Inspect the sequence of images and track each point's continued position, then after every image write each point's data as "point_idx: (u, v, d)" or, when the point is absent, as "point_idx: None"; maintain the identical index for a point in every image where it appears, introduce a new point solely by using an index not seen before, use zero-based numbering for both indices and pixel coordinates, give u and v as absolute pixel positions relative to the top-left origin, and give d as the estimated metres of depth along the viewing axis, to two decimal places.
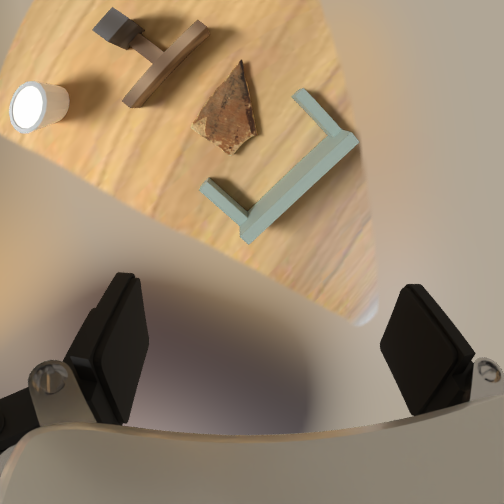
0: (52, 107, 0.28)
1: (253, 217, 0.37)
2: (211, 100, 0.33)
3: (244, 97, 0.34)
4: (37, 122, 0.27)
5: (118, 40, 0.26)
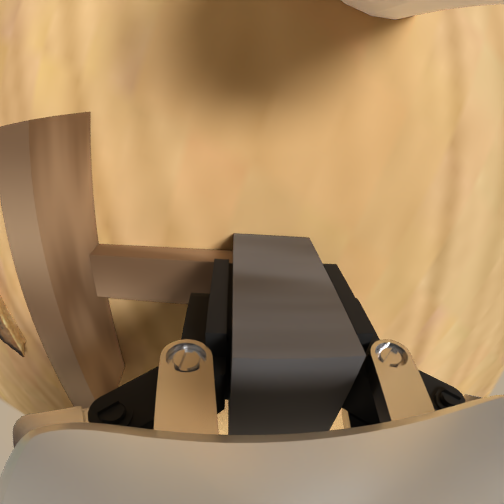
0: None
1: None
2: None
3: None
4: None
5: None
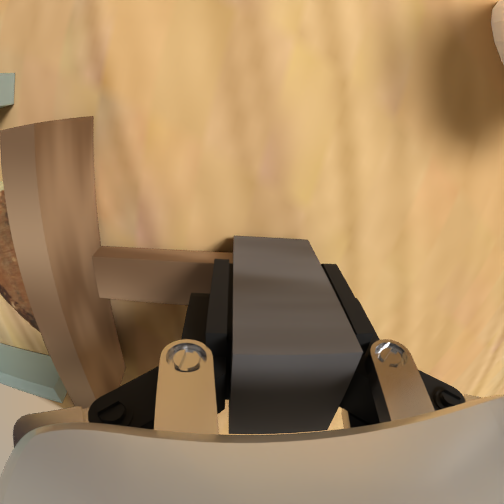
0: None
1: None
2: None
3: (29, 315, 0.13)
4: None
5: None
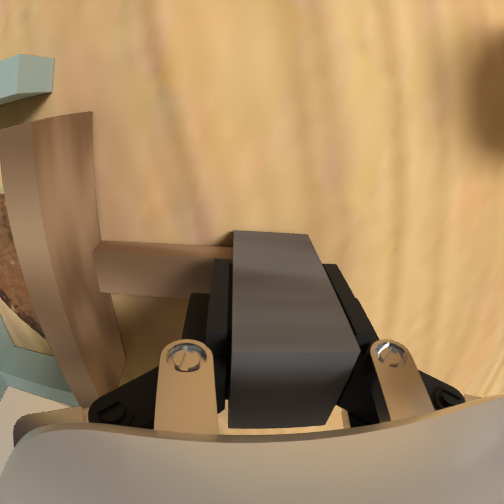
0: None
1: None
2: None
3: (28, 318, 0.13)
4: None
5: None
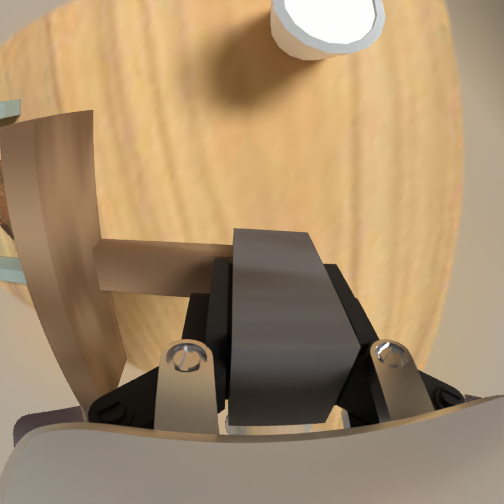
0: (276, 23, 0.14)
1: None
2: None
3: (6, 226, 0.23)
4: None
5: None
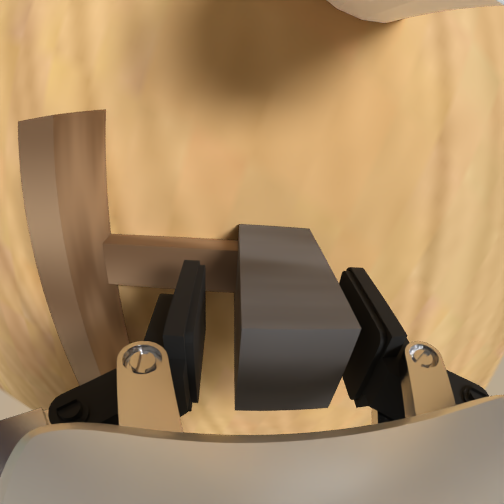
0: None
1: None
2: None
3: None
4: None
5: (239, 296, 0.09)
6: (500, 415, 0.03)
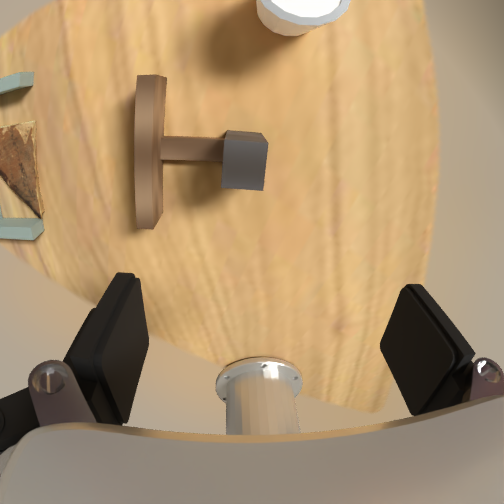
0: (258, 3, 0.16)
1: None
2: (32, 162, 0.24)
3: (14, 186, 0.25)
4: None
5: None
6: (500, 415, 0.03)
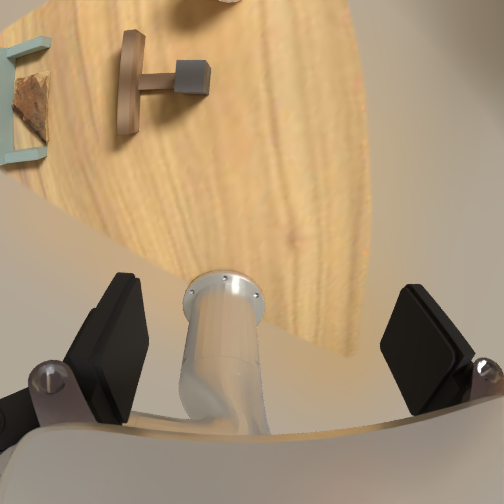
0: None
1: None
2: (44, 100, 0.30)
3: (28, 121, 0.31)
4: None
5: None
6: (500, 415, 0.03)
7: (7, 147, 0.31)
